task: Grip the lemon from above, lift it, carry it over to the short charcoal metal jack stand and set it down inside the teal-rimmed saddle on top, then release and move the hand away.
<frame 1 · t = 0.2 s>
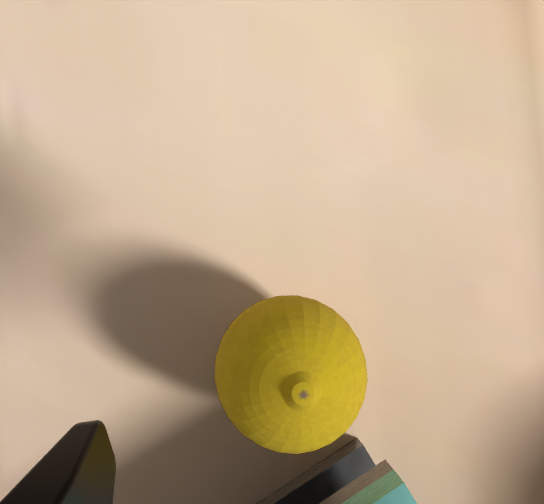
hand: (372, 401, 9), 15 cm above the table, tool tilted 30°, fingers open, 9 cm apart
lemon: (280, 353, 24), on the table
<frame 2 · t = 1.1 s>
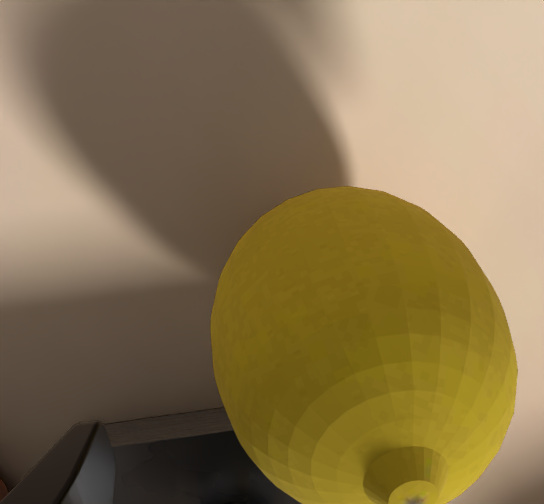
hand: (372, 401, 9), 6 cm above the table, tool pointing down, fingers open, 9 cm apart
lemon: (316, 245, 14), on the table
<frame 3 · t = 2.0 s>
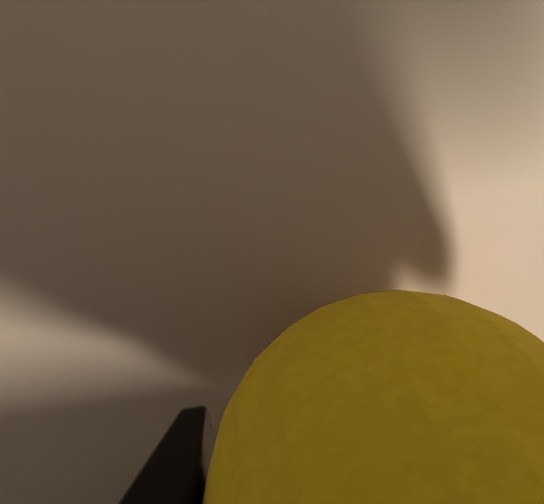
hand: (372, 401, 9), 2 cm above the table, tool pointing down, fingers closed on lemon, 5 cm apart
lemon: (348, 338, 10), on the table, touching gripper
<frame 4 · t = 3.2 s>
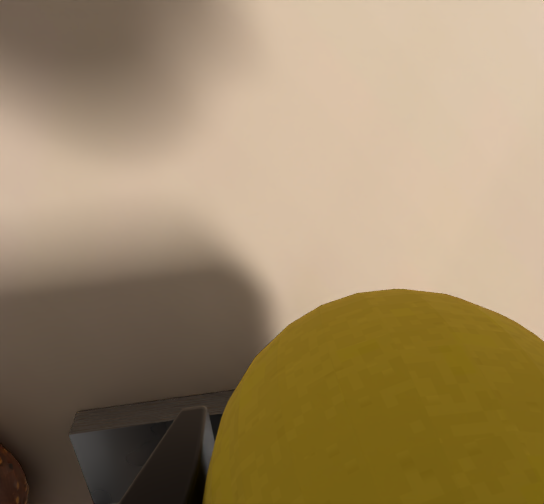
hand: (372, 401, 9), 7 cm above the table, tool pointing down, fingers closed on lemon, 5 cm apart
lemon: (348, 337, 10), point 5 cm above the table, touching gripper
jack stand: (234, 489, 19), on the table
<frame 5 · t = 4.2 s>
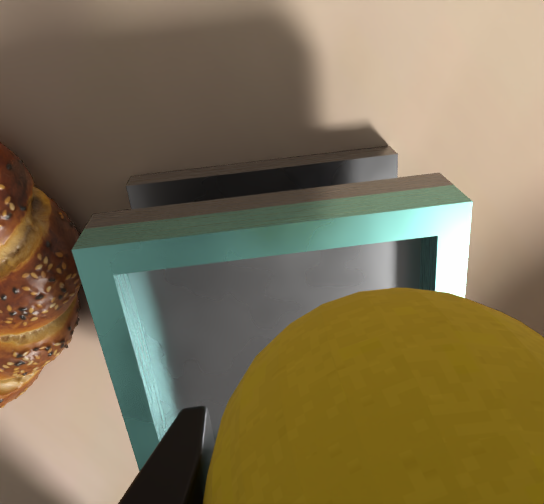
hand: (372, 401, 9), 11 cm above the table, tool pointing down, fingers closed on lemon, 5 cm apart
lemon: (349, 336, 10), point 9 cm above the table, touching gripper
jack stand: (273, 273, 20), on the table
when the fingers open (8 cm above the table, at t = 5.6 s): lemon drops 1 cm, resting on jack stand.
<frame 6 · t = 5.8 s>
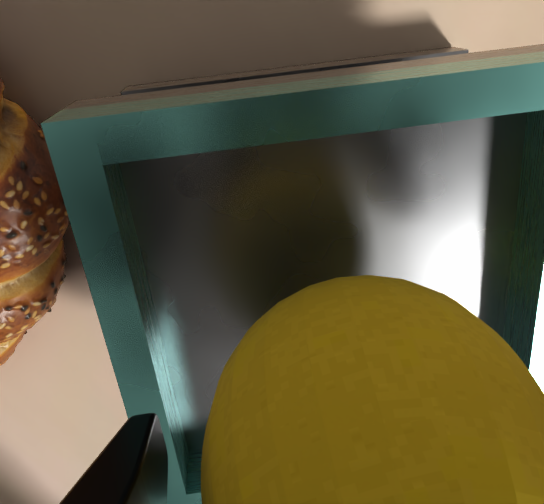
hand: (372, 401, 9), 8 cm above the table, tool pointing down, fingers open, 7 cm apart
lemon: (334, 302, 12), point 5 cm above the table, touching jack stand
jack stand: (304, 218, 16), on the table
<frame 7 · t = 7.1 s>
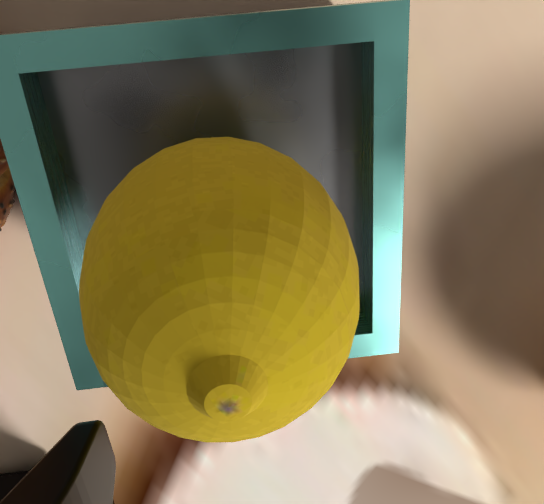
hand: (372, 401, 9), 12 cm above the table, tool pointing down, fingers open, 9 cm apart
lemon: (219, 206, 15), point 5 cm above the table, touching jack stand
jack stand: (221, 158, 19), on the table
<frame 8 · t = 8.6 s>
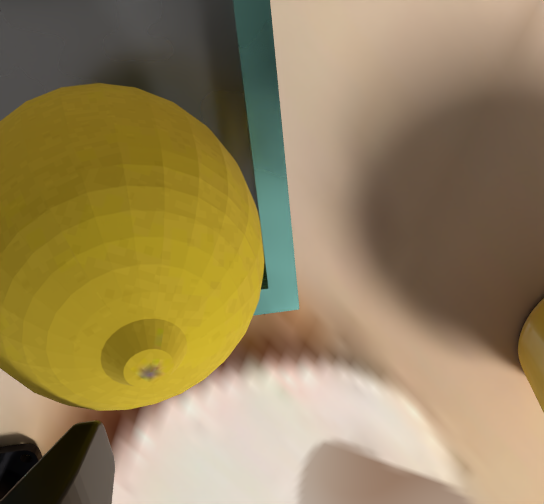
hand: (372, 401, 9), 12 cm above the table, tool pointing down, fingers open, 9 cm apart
lemon: (96, 160, 14), point 5 cm above the table, touching gripper, jack stand
jack stand: (129, 118, 18), on the table
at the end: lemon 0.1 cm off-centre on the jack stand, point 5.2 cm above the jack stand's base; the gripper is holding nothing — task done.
